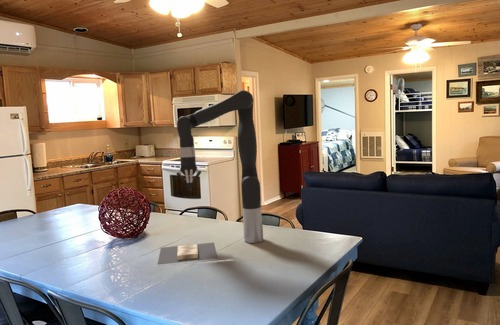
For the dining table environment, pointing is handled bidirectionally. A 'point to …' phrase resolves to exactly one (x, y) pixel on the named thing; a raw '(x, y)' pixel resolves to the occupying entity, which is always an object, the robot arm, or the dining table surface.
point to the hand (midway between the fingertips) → (190, 189)
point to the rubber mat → (170, 256)
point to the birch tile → (187, 252)
